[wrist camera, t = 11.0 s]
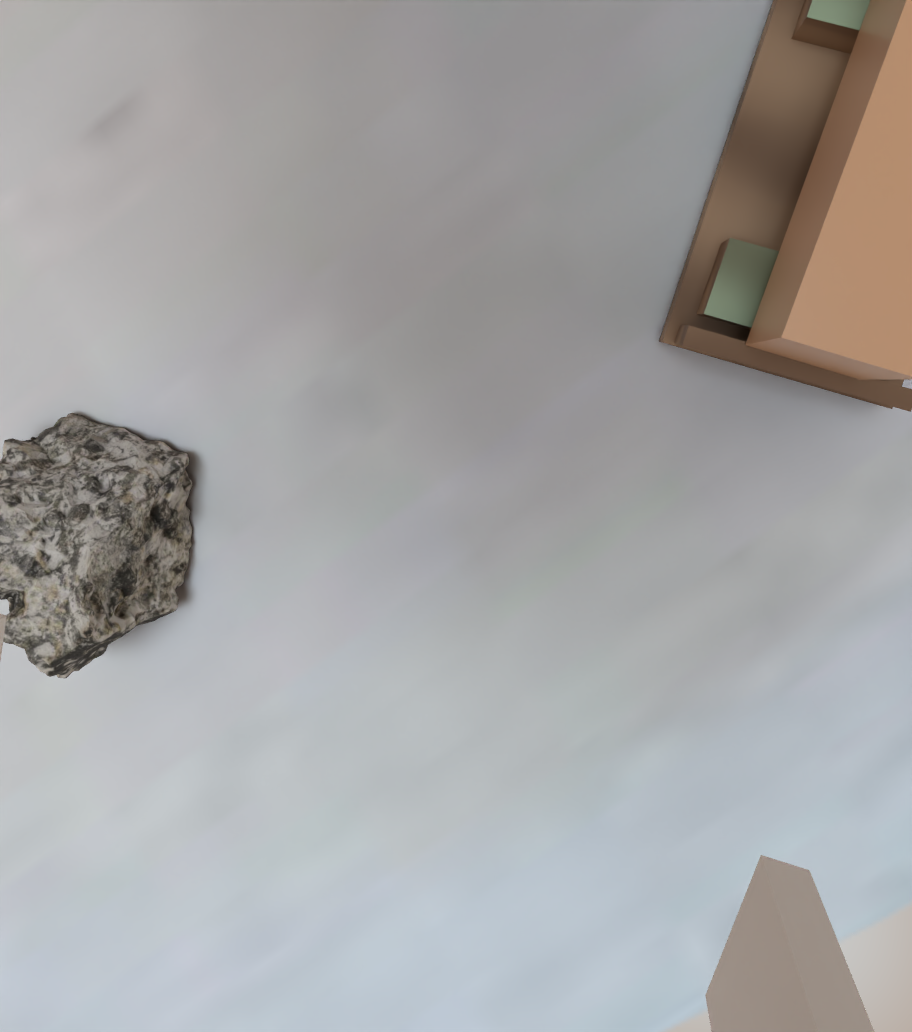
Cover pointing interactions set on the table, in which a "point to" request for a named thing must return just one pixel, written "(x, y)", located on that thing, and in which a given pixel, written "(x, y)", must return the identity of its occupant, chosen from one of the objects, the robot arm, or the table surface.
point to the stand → (768, 194)
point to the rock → (89, 539)
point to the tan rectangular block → (853, 221)
